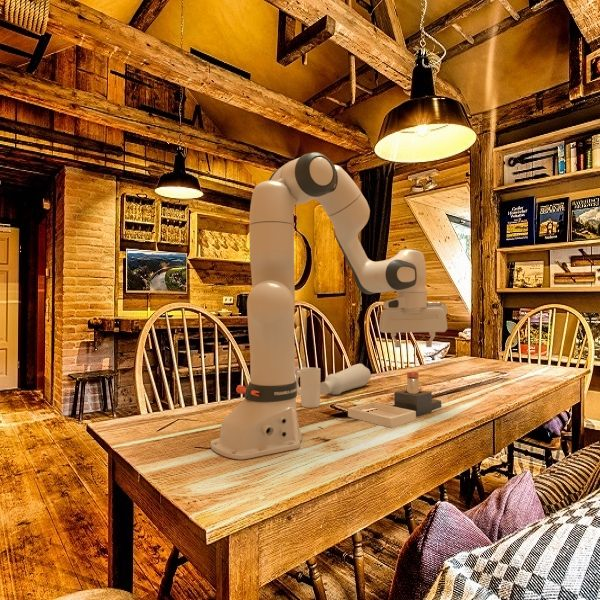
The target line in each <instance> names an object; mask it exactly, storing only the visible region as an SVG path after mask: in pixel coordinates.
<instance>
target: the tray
mask: <svg viewBox="0 0 600 600" xmlns="http://www.w3.org/2000/svg"><path fill="white" fill-rule="evenodd" d="M370 408H377V410H373V411H369V412H366V411H361V409H370ZM347 417H349V418H352V419H356V420H360V421H363V422H366V423H371V424H374V425H379V426H383V427H385V428H389V429H393V428H396V427H399V426H402V425H404V424H408V423H411V422H415V421H417V417H416V411H413V410H408V409H403V408H399V407H395V405H390V404H384V403H379V402H375V401H372V402H368V403H364V404H363V403H362V404H358V405H355V406H352V407H347Z"/></svg>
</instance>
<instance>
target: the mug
mask: <svg viewBox="0 0 600 600" xmlns="http://www.w3.org/2000/svg"><path fill="white" fill-rule="evenodd" d="M296 372H297V373H296V374H295V381H296V382H297V396H300V406H301V407H302V408H308V409H310V408H311V409H314V408H319V407H320V406H321V393H320V383H321V368H320V367H302V368H299V370H297V371H296ZM299 378H300V379H299ZM299 383H300V385H299Z"/></svg>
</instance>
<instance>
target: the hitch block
mask: <svg viewBox="0 0 600 600" xmlns="http://www.w3.org/2000/svg"><path fill="white" fill-rule="evenodd" d="M432 394H433V392H431V391H425V390H421V389H419V394H410V393H407V388H406V389H401V390H398V391H394V396H393V397H394V398H393V399H394V403H393V404H394V405H393V406H394V407H399V408H403V409H408V410H413V411H416V418H417V417H419V416H420V417H421V416H424V415H426V414H430V413H432V412H433V410H435V409H439V408H441V407H442V400H440V399H435V398H433V395H432Z"/></svg>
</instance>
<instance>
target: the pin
mask: <svg viewBox="0 0 600 600" xmlns="http://www.w3.org/2000/svg"><path fill="white" fill-rule="evenodd" d="M419 384H420V383H419V372H417V371H408V372H406V385H407V386H406V389H407V393H410V394H419V390H420V389H419V386H420V385H419Z"/></svg>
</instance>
